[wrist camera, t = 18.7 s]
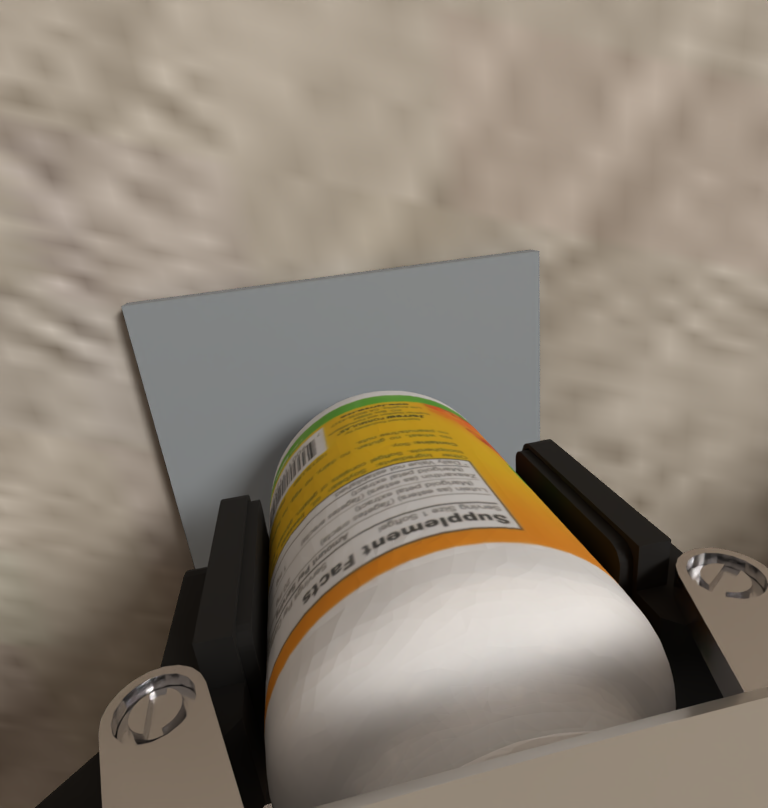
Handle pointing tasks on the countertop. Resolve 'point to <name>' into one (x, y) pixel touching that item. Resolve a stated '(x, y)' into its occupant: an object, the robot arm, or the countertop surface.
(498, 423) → the slate mat
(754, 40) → the countertop surface
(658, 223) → the countertop surface
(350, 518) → the supplement bottle
